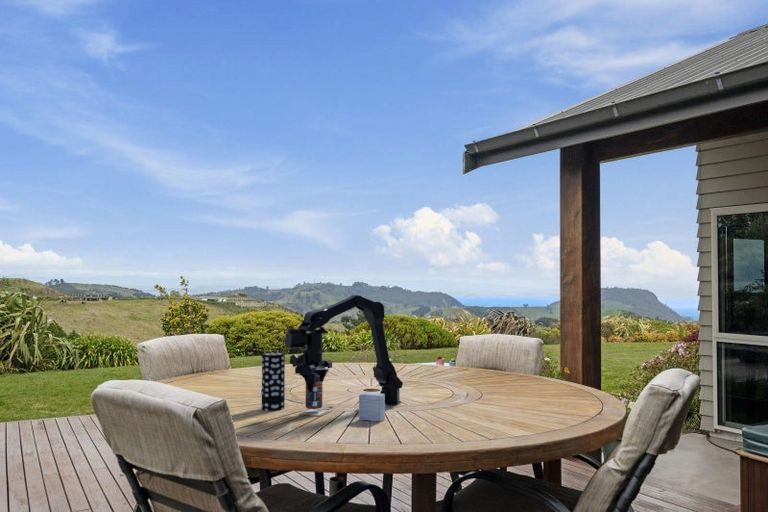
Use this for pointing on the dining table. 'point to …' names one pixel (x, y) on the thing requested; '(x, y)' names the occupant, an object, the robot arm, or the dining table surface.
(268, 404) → the spotted tube
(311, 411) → the coaster
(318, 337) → the robot arm
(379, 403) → the medicine box
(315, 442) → the dining table surface
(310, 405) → the supplement bottle
